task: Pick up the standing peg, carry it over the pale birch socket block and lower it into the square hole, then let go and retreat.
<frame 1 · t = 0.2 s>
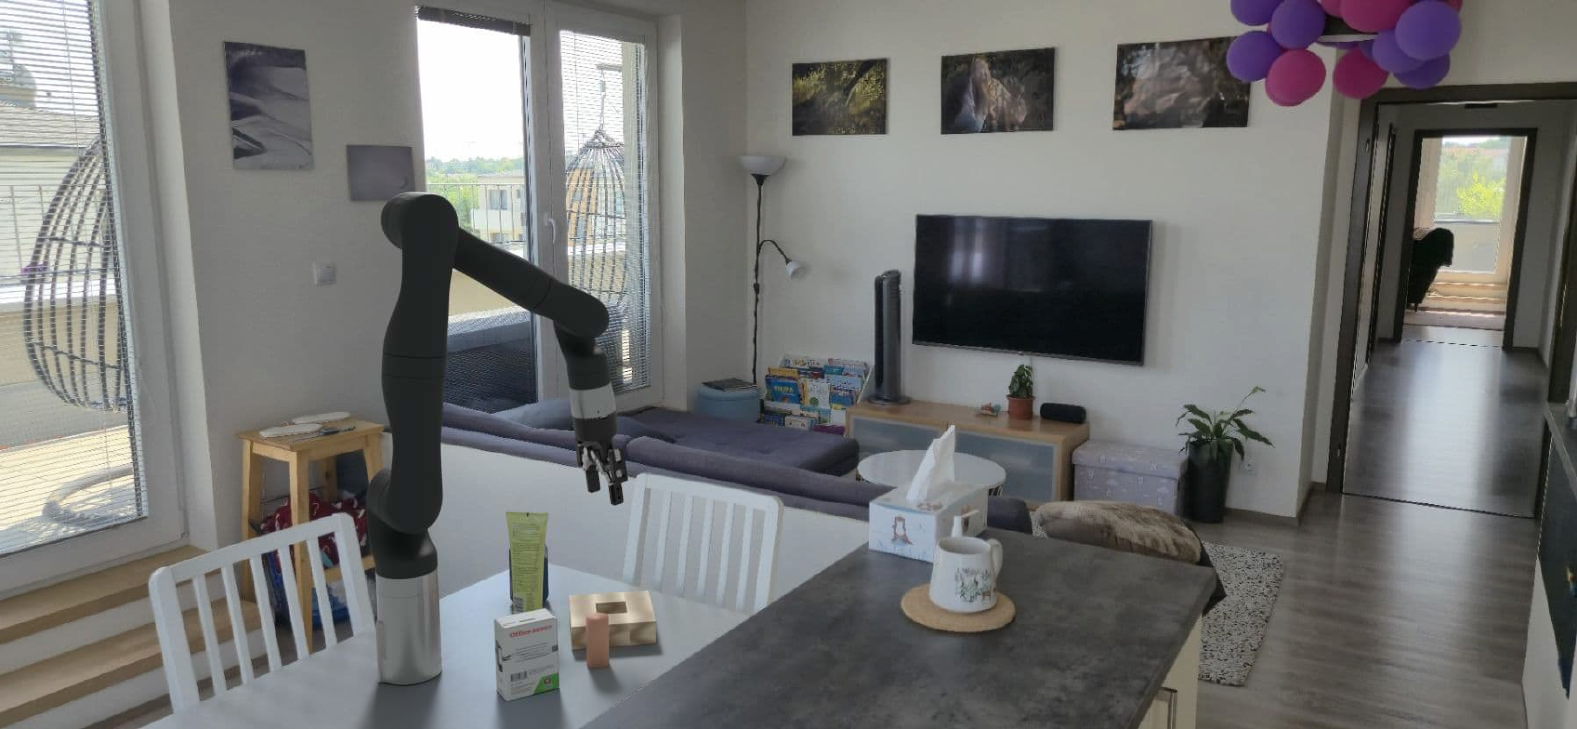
hand: (605, 497, 195), 22 cm above the table, tool pointing down, fingers open, 8 cm apart
ink box: (527, 690, 171), on the table
socket: (611, 629, 193), on the table
soda can: (529, 603, 205), on the table
peg: (597, 663, 180), on the table
tube: (529, 618, 198), on the table
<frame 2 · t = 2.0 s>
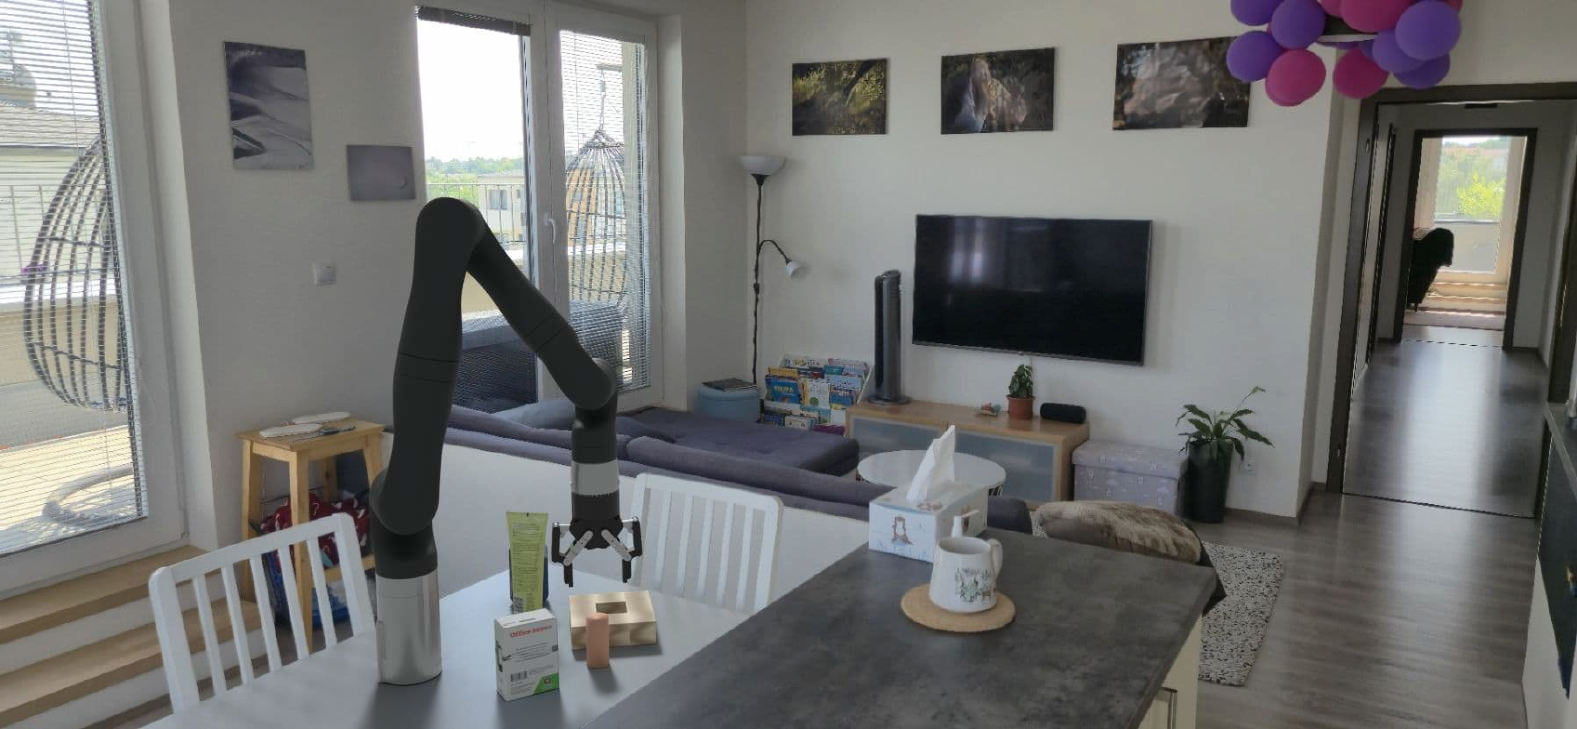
hand: (597, 583, 178), 14 cm above the table, tool pointing down, fingers open, 8 cm apart
nothing on the table moved.
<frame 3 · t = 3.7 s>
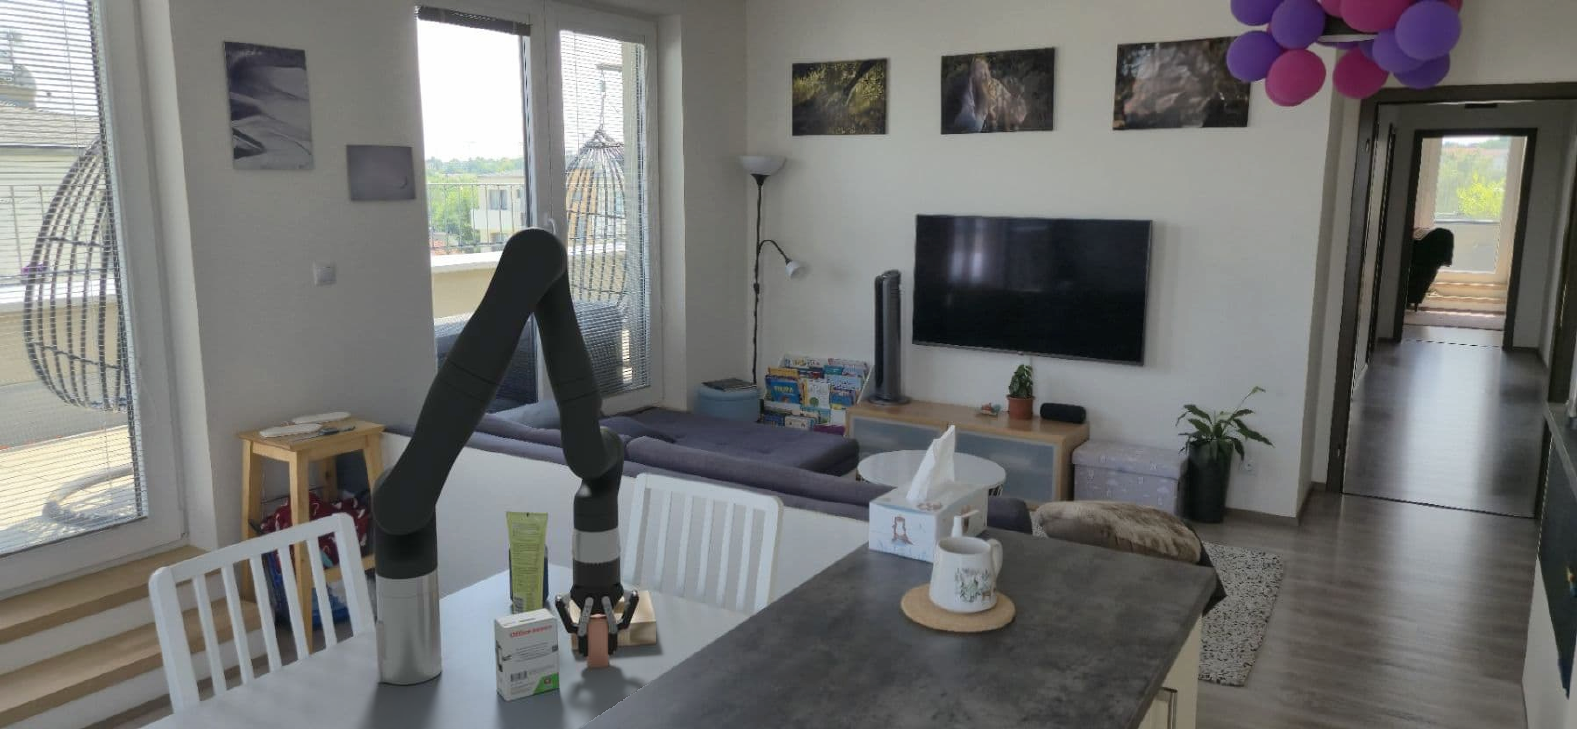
hand: (597, 653, 180), 2 cm above the table, tool pointing down, fingers closed on peg, 3 cm apart
peg: (598, 663, 180), on the table, touching gripper
everything else where it was.
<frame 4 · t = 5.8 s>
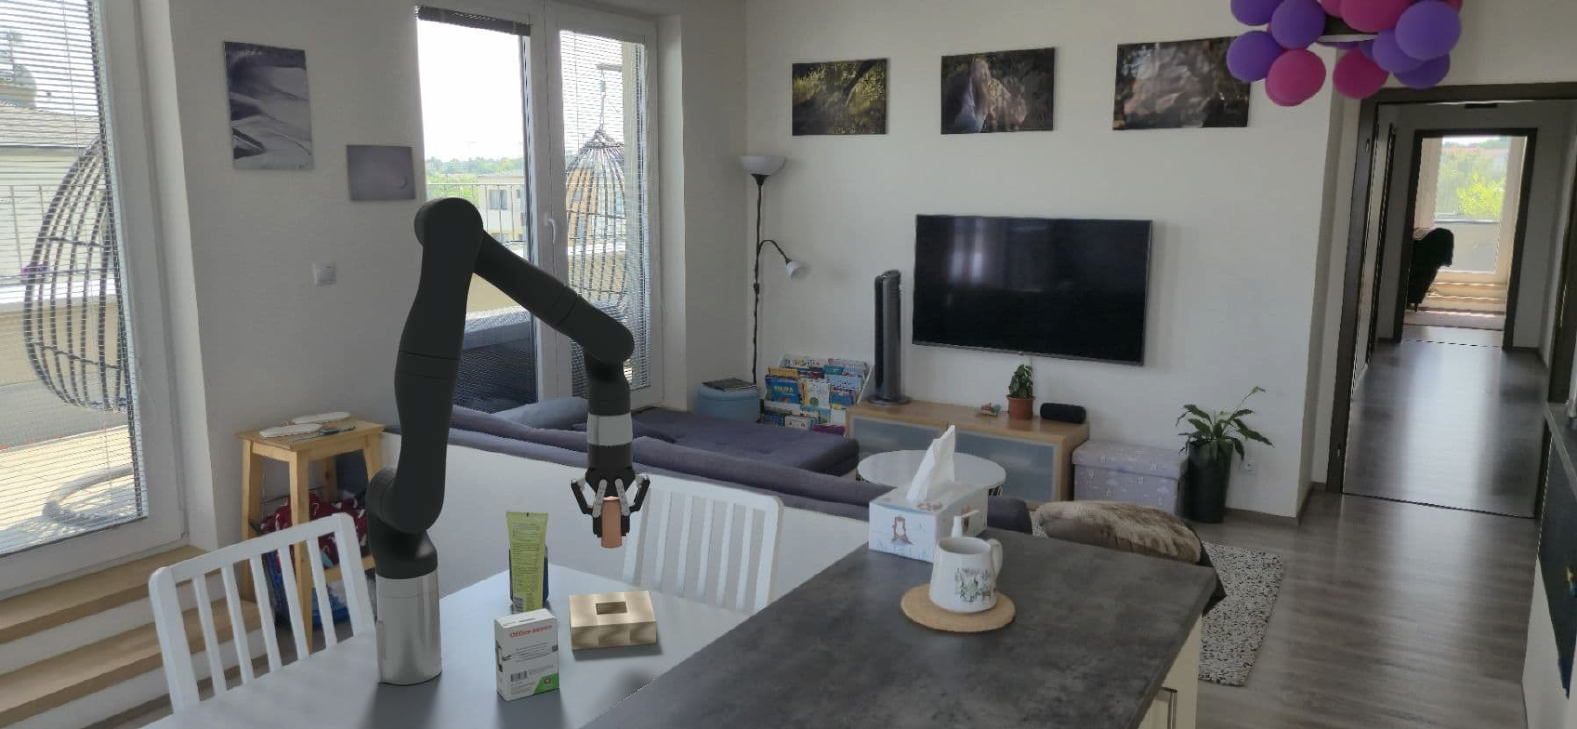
hand: (611, 535, 190), 17 cm above the table, tool pointing down, fingers closed on peg, 3 cm apart
peg: (611, 544, 190), point 16 cm above the table, touching gripper
everything else where it was.
when the fingers open (4 cm above the table, at t = 8.0 s): peg drops 2 cm, resting on socket.
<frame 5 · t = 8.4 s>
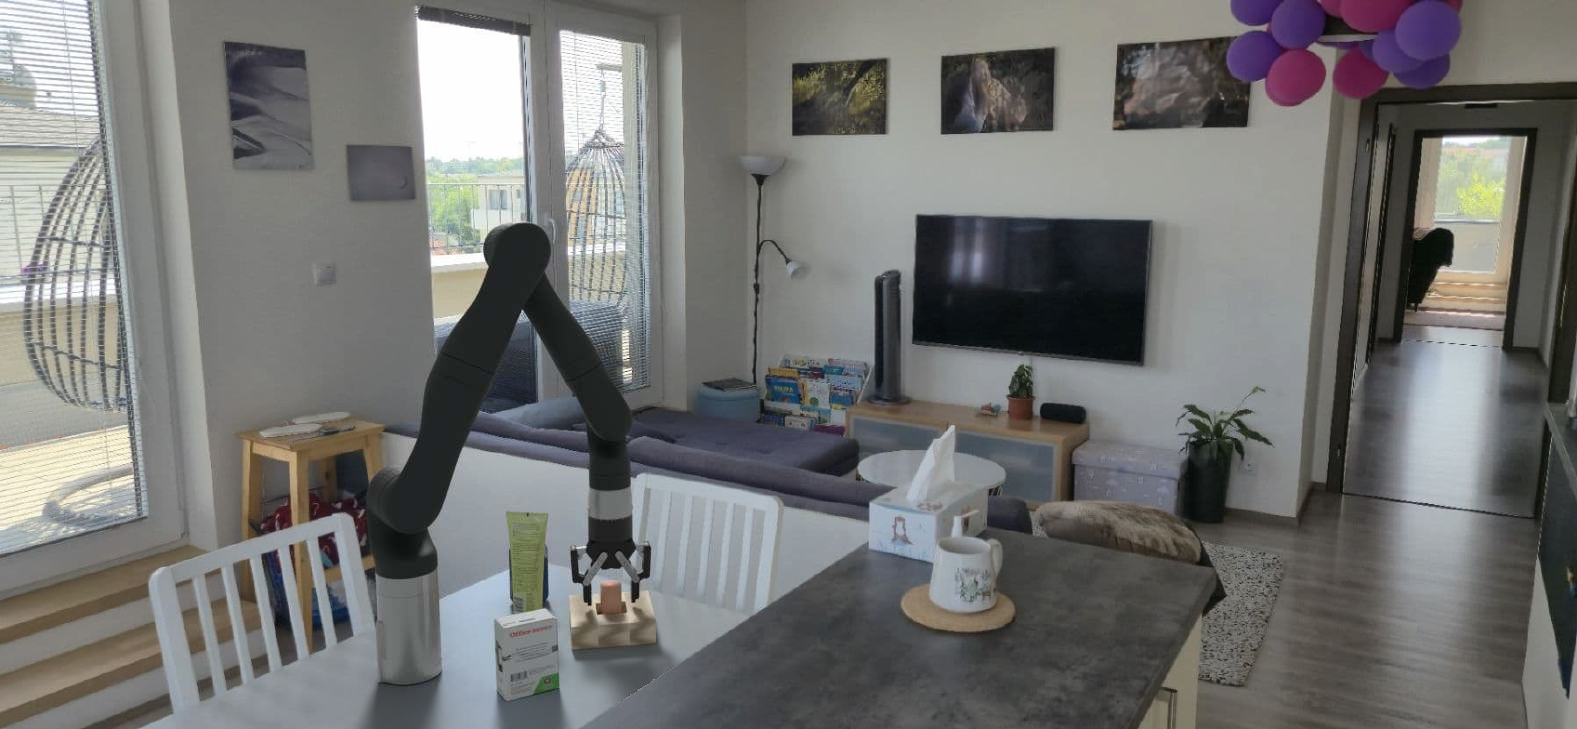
hand: (611, 602, 192), 5 cm above the table, tool pointing down, fingers open, 7 cm apart
peg: (611, 628, 193), resting on socket
everything else where it was.
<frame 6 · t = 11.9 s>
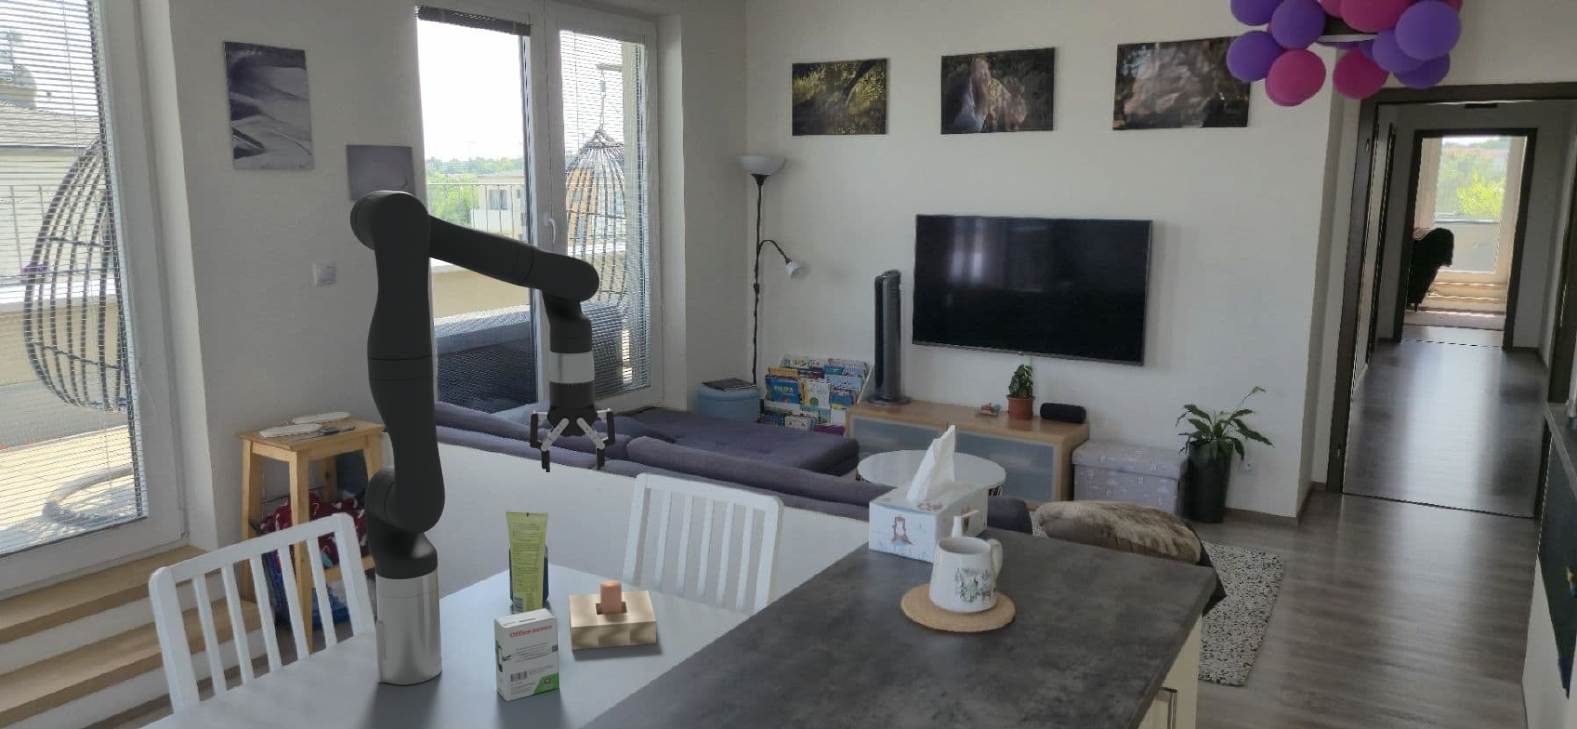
hand: (573, 470, 190), 28 cm above the table, tool pointing down, fingers open, 8 cm apart
nothing on the table moved.
at the end: peg 0.0 cm off-centre on the socket, point 0.3 cm above the socket's base; peg tilted 0°; the gripper is holding nothing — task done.
